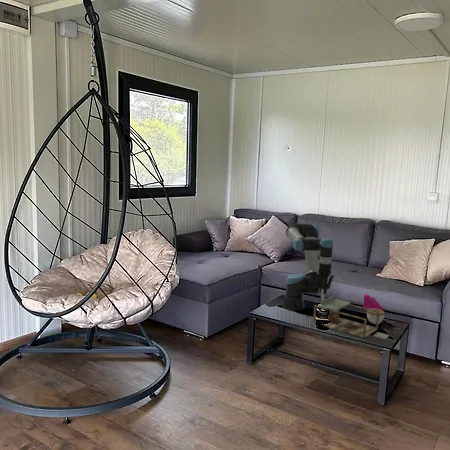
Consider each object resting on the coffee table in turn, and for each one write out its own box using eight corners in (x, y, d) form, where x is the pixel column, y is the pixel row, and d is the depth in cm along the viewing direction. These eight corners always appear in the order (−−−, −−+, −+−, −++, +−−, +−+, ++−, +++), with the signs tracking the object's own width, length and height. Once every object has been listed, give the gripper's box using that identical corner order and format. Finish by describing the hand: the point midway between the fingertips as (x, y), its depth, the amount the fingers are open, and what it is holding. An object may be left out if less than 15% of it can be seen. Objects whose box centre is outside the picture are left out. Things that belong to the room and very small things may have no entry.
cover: (318, 306, 280) (318, 301, 280) (333, 299, 295) (333, 294, 295) (336, 310, 273) (336, 305, 272) (350, 303, 288) (350, 298, 287)
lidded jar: (384, 326, 282) (386, 312, 281) (367, 324, 284) (368, 310, 283) (382, 320, 293) (383, 306, 291) (365, 318, 295) (366, 305, 294)
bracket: (362, 310, 313) (363, 295, 311) (364, 306, 322) (366, 292, 321) (380, 313, 308) (382, 298, 306) (382, 309, 317) (383, 294, 316)
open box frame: (312, 322, 284) (314, 305, 282) (328, 315, 299) (329, 298, 297) (364, 337, 262) (366, 319, 260) (377, 329, 277) (379, 311, 276)
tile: (373, 336, 265) (373, 335, 265) (377, 333, 271) (377, 332, 271) (384, 339, 261) (384, 338, 261) (389, 336, 266) (389, 335, 266)
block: (328, 321, 285) (329, 305, 284) (331, 319, 289) (332, 303, 288) (335, 323, 282) (336, 307, 281) (338, 321, 286) (340, 305, 284)
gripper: (313, 262, 287) (310, 297, 290) (331, 265, 279) (329, 302, 282) (319, 260, 293) (316, 295, 296) (337, 263, 284) (334, 299, 288)
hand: (322, 298), depth 289 cm, fingers closed
